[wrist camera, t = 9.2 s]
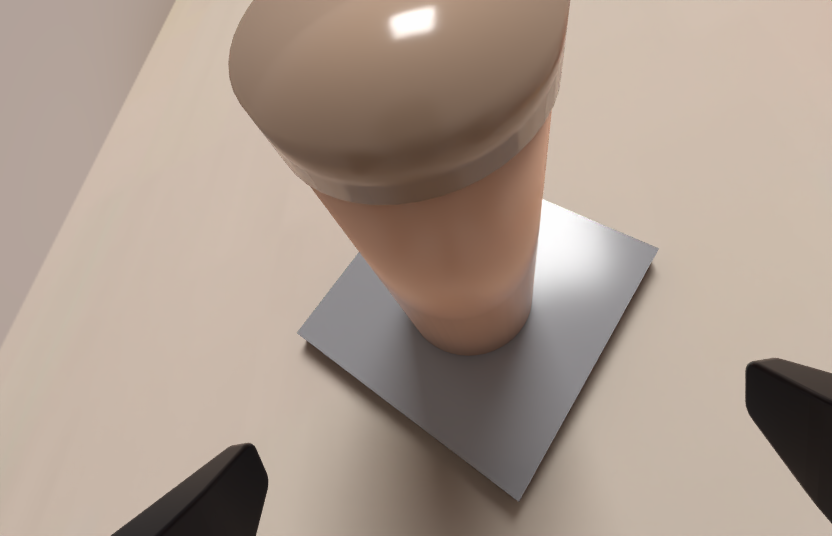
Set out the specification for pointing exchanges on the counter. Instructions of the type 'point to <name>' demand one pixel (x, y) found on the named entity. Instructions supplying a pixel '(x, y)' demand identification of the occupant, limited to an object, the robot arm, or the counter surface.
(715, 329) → the counter surface
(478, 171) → the spice jar
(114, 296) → the counter surface
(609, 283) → the coaster
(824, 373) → the robot arm
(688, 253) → the counter surface
